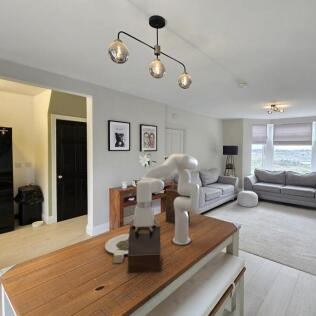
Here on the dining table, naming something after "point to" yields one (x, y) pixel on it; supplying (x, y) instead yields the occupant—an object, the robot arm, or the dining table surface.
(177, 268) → the dining table surface
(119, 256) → the block
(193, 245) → the dining table surface
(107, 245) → the plated food
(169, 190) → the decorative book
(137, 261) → the chest
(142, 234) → the lid
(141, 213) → the robot arm
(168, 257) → the dining table surface
